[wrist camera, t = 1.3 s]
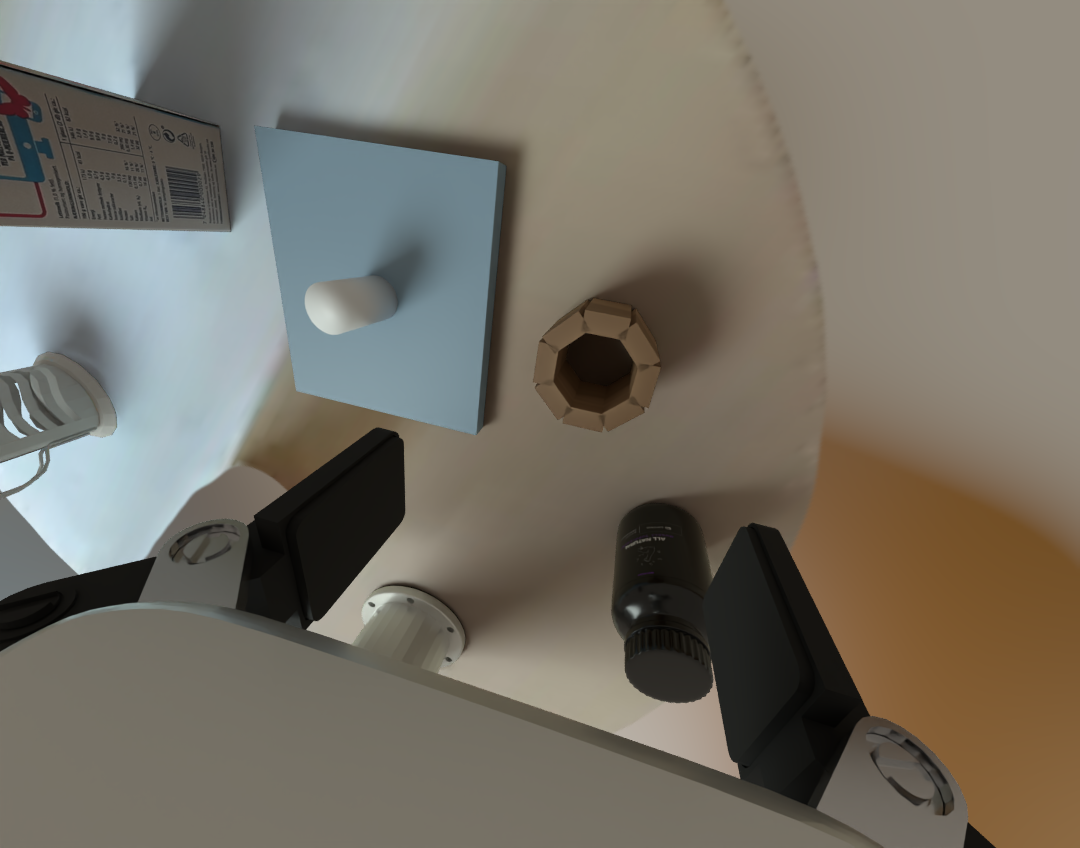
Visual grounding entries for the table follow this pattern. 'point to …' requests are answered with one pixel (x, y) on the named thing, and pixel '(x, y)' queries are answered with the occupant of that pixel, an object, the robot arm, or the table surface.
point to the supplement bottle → (663, 602)
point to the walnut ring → (589, 400)
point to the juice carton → (104, 160)
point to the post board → (385, 272)
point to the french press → (51, 409)
